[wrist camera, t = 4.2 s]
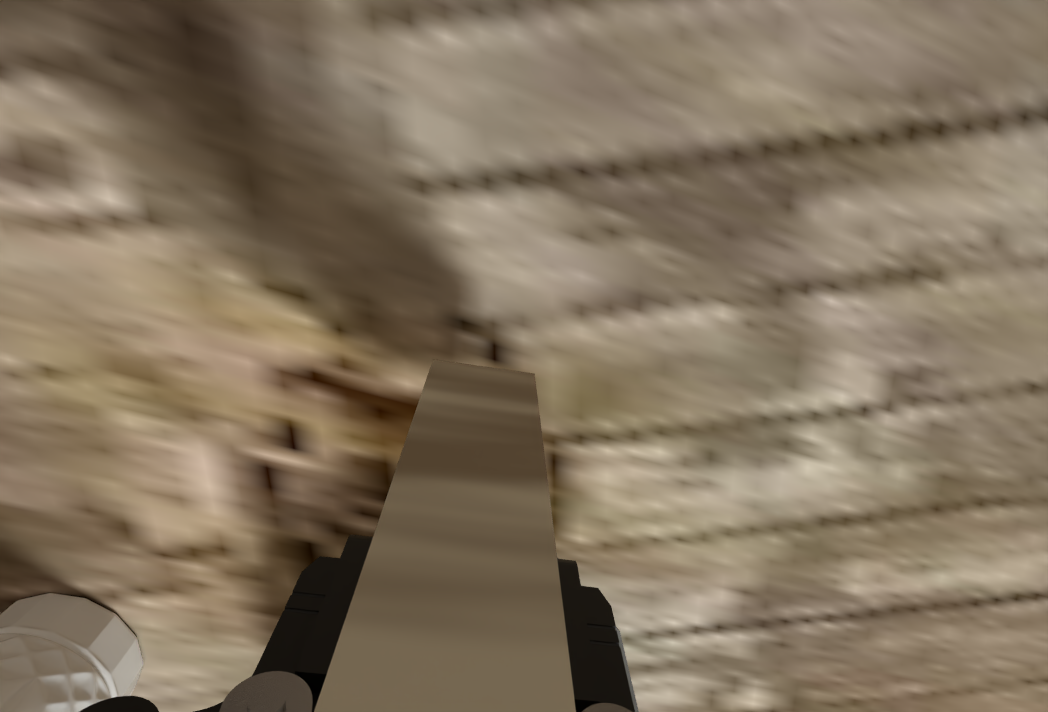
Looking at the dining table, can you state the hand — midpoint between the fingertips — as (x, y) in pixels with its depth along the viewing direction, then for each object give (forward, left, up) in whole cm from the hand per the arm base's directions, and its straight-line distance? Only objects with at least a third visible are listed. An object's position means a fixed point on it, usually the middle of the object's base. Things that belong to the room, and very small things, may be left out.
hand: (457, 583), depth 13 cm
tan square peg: (0, 0, -9) cm, 9 cm away
